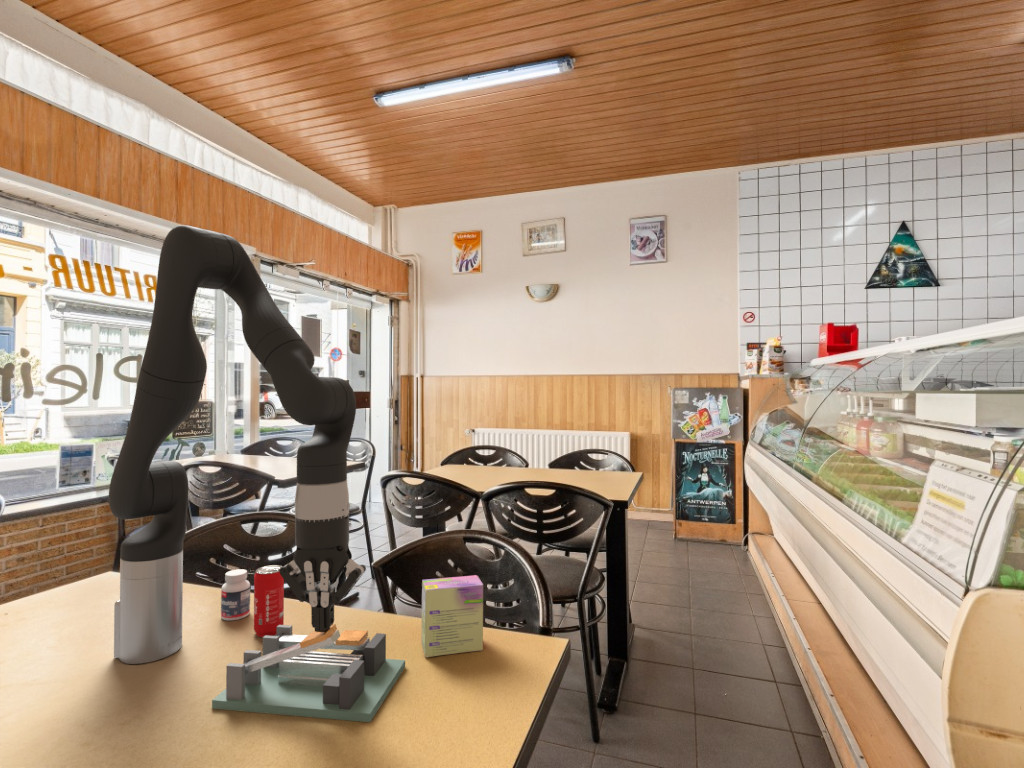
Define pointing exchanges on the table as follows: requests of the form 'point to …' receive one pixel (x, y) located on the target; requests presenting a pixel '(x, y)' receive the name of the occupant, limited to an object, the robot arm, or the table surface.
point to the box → (452, 615)
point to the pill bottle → (235, 595)
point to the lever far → (344, 642)
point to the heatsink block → (314, 667)
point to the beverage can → (268, 600)
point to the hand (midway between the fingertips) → (323, 629)
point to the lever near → (295, 649)
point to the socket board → (337, 699)
